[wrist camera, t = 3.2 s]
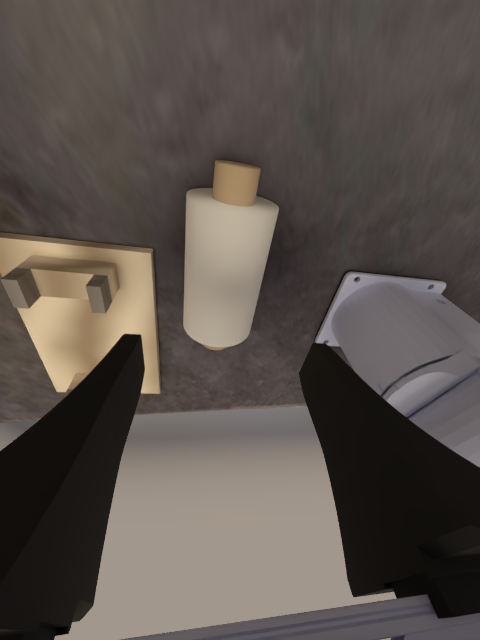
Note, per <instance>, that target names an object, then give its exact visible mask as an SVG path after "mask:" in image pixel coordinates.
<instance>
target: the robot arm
mask: <svg viewBox="0 0 480 640" xmlns="http://www.w3.org/2000/svg"><path fill="white" fill-rule="evenodd" d="M356 277H358V278H357V279H356V280H354V279H355V278H356ZM445 288H446V283H444V282H443V281H436V280H427V279H417V278H408V277H399V276H389V275H380V274H371V273H361V272H348V273H347V274H345V276H344V278H343V280H342V282H341V284H340V286H339V289H338V291H337V293H336V295H335V297H334V299H333V302H332V304H331V306H330V308H329V310H328V313H327V315H326V317H325V319H324V321H323V323H322V326H321V328H320V330H319V332H318V334H317V337H316V339H315V342H316V343H313V344H312V346H311V348H310V350H309V353H308V355H307V357H306V359H305V361H304V364H303V366H302V368H301V370H300V372H299V376H300V381H301V386H302V390H303V395H304V398H305V401H306V404H307V407H308V409H309V413H310V415H311V418H312V421H313V424H314V427H315V430H316V432H317V435H318V438H319V441H320V444H321V447H322V450H323V453H324V457H325V462H326V466H327V470H328V474H329V478H330V482H331V487H332V491H333V496H334V500H335V506H336V510H337V516H338V521H339V527H340V532H341V538H342V545H343V551H344V557H345V564H346V571H347V578H348V582H349V585H350V589H351V592H352V595H353V597H358V596H366V595H373V594H380V593H387V592H393V591H394V592H395V595H396V597H397V599H392V600H385V601H378V602H372V603H365V604H358V605H351V606H344V607H338V608H331V609H324V610H317V611H310V612H304V613H297V614H290V615H284V616H277V617H270V618H263V619H256V620H250V621H243V622H236V623H229V624H223V625H216V626H209V627H202V628H196V629H189V630H182V631H175V632H169V633H162V634H155V635H148V636H142V637H135V638H128V639H121V640H380V639H386V638H391V637H392V638H391V640H480V324H479V323H478V322H477V321H475V320H474V319H473V318H471V317H470V316H469V315H468V314H466V313H465V312H464V311H462V310H461V309H460V308H458V307H457V306H456V305H454V304H453V303H452V302H450V301H449V300H448V299H446V298H445V297H444V296H442V295H441V293H442V292H443V291H444V289H445ZM325 340H326V341H325ZM329 346H340V347H341V349H342V350H343V352H344V354H345V356H346V357H347V359H348V361H349V363H350V364H351V366H352V368H353V370H354V371H355V372H354V371H353V370H352V369H351V368H350V367H349V366H348V365H347V364H346V363H345V362H344V361H343V360H342V359H341V358H340V357H339V356H338V355H337V354H336V353H335V352H334V351H333V350H332V349H331V348H330V347H329ZM144 373H145V364H144V355H143V346H142V337H141V334H124V335H122V336H121V338H120V339H119V340H118V341H117V343H116V344H115V345H114V346H113V347H112V349H111V350H110V351H109V352H108V353H107V354H106V355H105V357H104V358H103V359H102V360H101V361H100V362H99V363H98V364H97V365H96V366H95V368H94V369H93V370H92V371H91V372H90V373H89V374H88V375H87V376H86V377H85V378H84V379H83V380H82V381H81V382H80V383H79V384H78V385H77V386H76V387H75V388H74V389H73V390H72V391H71V392H70V393H69V394H68V395H67V396H66V397H65V398H64V399H63V400H62V401H61V402H59V403H58V404H57V405H56V406H55V407H54V408H53V409H52V410H51V411H49V412H48V413H47V414H46V415H45V416H44V417H42V418H41V419H40V420H39V421H38V422H37V423H35V424H34V425H33V426H32V427H30V428H29V429H28V430H27V431H25V432H24V433H23V434H22V435H20V436H19V437H18V438H17V439H16V440H14V441H13V442H12V443H10V444H9V445H8V446H6V447H5V448H4V449H2V450H1V451H0V640H54V637H55V636H57V635H63V634H68V633H69V631H70V628H71V624H72V622H77V621H80V620H81V619H82V618H83V617H84V616H85V615H86V614H87V612H88V611H89V610H90V609H91V607H92V606H93V604H94V598H95V592H96V585H97V580H98V574H99V568H100V562H101V556H102V551H103V545H104V540H105V534H106V529H107V523H108V518H109V513H110V508H111V503H112V498H113V493H114V488H115V483H116V479H117V474H118V469H119V465H120V460H121V456H122V453H123V449H124V445H125V442H126V439H127V436H128V433H129V430H130V426H131V423H132V420H133V417H134V414H135V410H136V407H137V404H138V400H139V397H140V394H141V389H142V384H143V378H144Z"/></svg>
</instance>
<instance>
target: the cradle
mask: <svg viewBox="0 0 480 640" xmlns="http://www.w3.org/2000/svg"><path fill="white" fill-rule="evenodd" d="M0 273H1V275H2V278H1V281H2V283H3V285H4V287H5V289H6V292H7V294H8V296H9V298H10V300H11V302H12V304H13V306H14V308H17V309H18V311H19V313H20V315H21V317H22V319H23V321H24V323H25V325H26V328H27V330H28V332H29V334H30V336H31V338H32V340H33V342H34V344H35V347H36V349H37V351H38V353H39V355H40V357H41V359H42V361H43V363H44V366H45V368H46V370H47V372H48V374H49V376H50V378H51V380H52V382H53V385H54V387H55V389H56V391H57V392H66V393H65V395H64V397H63V398H62V400H63V399H64V398H65V397H66V396H67V395H68V394H69V393H70V392H71V391H72V390H73V389H74V388H75V387H76V386H77V385H78V384H79V383H80V382H81V381H82V380H83V379H84V378H85V377H86V376H87V375H88V374H89V373H90V372H91V371H92V370H93V369H94V368H95V366H96V365H97V364H98V363H99V362H100V361H101V360H102V359H103V358H104V357H105V355H106V354H107V353H108V352H109V351H110V350H111V349H112V347H113V346H114V345H115V344H116V343H117V341H118V340H119V339H120V338H121V336H122V335H124V334H141V337H142V346H143V355H144V364H145V373H144V378H143V384H142V389H141V393H159V394H160V390H161V377H160V360H159V343H158V326H157V309H156V292H155V275H154V258H153V249H151V248H142V247H133V246H123V245H114V244H105V243H96V242H86V241H77V240H68V239H59V238H49V237H40V236H31V235H22V234H12V233H3V232H0ZM62 400H61V401H62Z"/></svg>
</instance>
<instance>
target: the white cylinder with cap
mask: <svg viewBox="0 0 480 640" xmlns="http://www.w3.org/2000/svg"><path fill="white" fill-rule="evenodd" d="M260 171H261V169H260V168H258V167H256V166H253V165H249V164H245V163H240V162H234V161H227V160H215V168H214V180H213V188H196V189H191V190H189V191H187V193H186V229H185V273H184V316H183V325H184V329H185V331H186V333H187V334H188V335H189V336H190V337H191V338H192V339H194V340H195V341H197V342H199V343H201V344H203V345H204V346H205V347H206V348H208V349H211V350H222V349H224V348H226V347H230V346H234V345H237V344H239V343H241V342H242V341H244V340H245V339H246V338H247V337H248V335H249V333H250V330H251V325H252V321H253V317H254V313H255V308H256V304H257V300H258V296H259V292H260V287H261V283H262V279H263V275H264V271H265V266H266V262H267V258H268V254H269V250H270V245H271V241H272V237H273V233H274V229H275V224H276V220H277V216H278V212H279V207H278V206H277V205H276V204H275V203H273V202H271V201H269V200H267V199H265V198H262V197H259V196H256V193H257V188H258V182H259V177H260Z"/></svg>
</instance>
